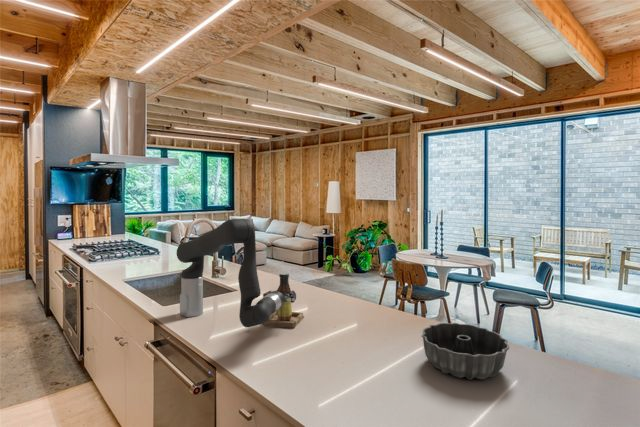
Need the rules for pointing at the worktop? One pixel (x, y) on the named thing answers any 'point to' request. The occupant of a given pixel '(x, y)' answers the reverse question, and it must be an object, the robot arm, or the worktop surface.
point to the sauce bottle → (286, 309)
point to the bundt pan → (465, 350)
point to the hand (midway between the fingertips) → (286, 292)
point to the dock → (291, 323)
